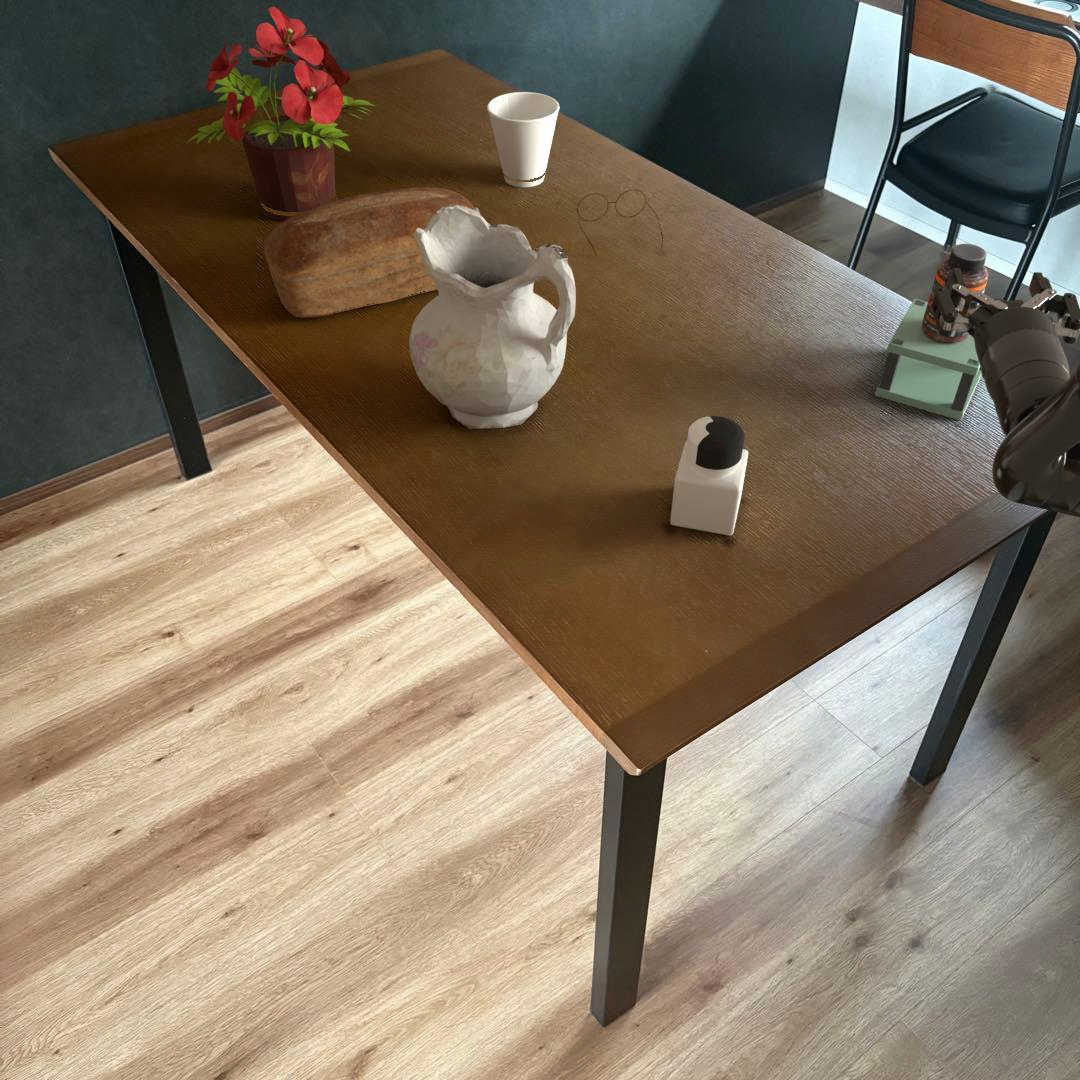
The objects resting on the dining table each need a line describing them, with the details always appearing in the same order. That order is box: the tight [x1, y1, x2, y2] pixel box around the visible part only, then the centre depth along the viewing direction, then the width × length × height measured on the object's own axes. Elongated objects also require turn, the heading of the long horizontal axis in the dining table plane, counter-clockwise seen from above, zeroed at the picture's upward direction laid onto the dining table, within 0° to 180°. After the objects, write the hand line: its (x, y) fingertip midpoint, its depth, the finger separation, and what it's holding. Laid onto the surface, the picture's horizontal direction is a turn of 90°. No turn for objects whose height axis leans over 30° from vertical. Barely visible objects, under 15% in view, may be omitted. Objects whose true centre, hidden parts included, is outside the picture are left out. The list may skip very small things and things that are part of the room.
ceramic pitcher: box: [408, 204, 577, 430], centre depth 130 cm, size 22×20×25 cm
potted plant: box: [186, 6, 378, 222], centre depth 169 cm, size 30×27×30 cm
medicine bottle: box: [669, 415, 749, 537], centre depth 120 cm, size 7×7×12 cm
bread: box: [263, 186, 476, 320], centre depth 154 cm, size 12×31×14 cm, turn 114°
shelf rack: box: [874, 298, 982, 421], centre depth 138 cm, size 11×12×8 cm
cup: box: [486, 91, 561, 188], centre depth 180 cm, size 12×12×12 cm
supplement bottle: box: [922, 243, 989, 343], centre depth 132 cm, size 6×6×11 cm
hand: (993, 277), depth 118 cm, fingers open, 8 cm apart
